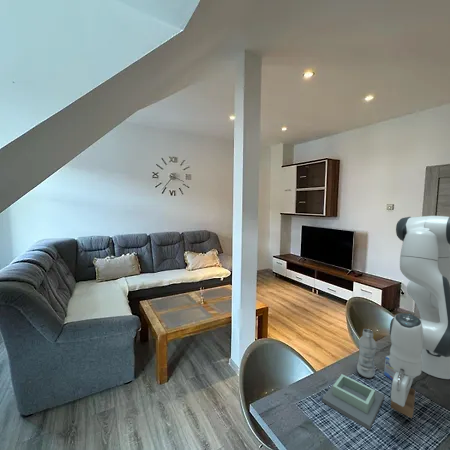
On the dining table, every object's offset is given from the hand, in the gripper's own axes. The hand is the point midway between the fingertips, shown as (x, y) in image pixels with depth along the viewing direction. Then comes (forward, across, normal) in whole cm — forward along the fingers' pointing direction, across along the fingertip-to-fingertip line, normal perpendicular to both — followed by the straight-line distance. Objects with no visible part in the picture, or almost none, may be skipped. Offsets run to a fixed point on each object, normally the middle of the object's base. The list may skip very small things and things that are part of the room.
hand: (402, 399), depth 85 cm
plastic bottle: (+7, +14, +15) cm, 22 cm away
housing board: (+6, -4, +14) cm, 16 cm away
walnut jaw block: (+4, 0, 0) cm, 4 cm away
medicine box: (+7, +20, +5) cm, 22 cm away
